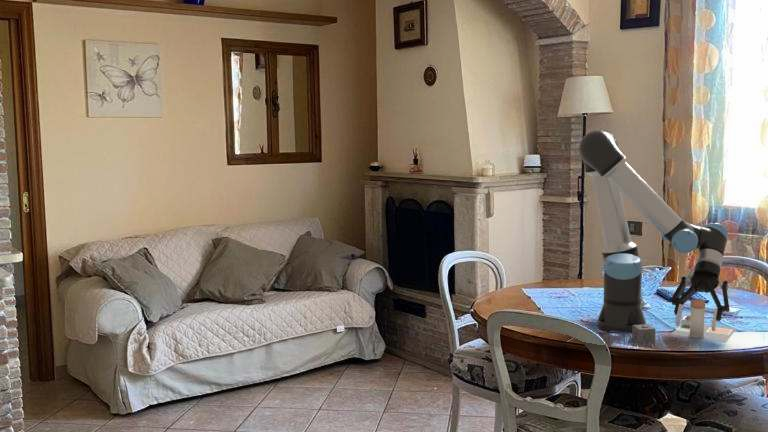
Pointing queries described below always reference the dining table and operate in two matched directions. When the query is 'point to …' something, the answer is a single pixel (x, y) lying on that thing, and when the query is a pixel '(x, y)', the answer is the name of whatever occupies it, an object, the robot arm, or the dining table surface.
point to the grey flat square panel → (707, 333)
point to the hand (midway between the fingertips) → (694, 326)
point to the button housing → (685, 322)
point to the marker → (697, 317)
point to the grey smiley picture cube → (643, 333)
